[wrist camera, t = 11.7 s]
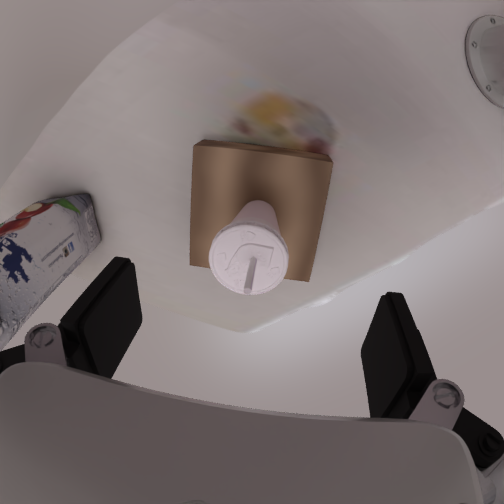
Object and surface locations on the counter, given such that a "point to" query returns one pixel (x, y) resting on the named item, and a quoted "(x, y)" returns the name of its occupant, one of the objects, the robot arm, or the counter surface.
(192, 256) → the plinth
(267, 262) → the smoothie
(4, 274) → the juice carton
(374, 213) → the counter surface
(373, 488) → the robot arm
